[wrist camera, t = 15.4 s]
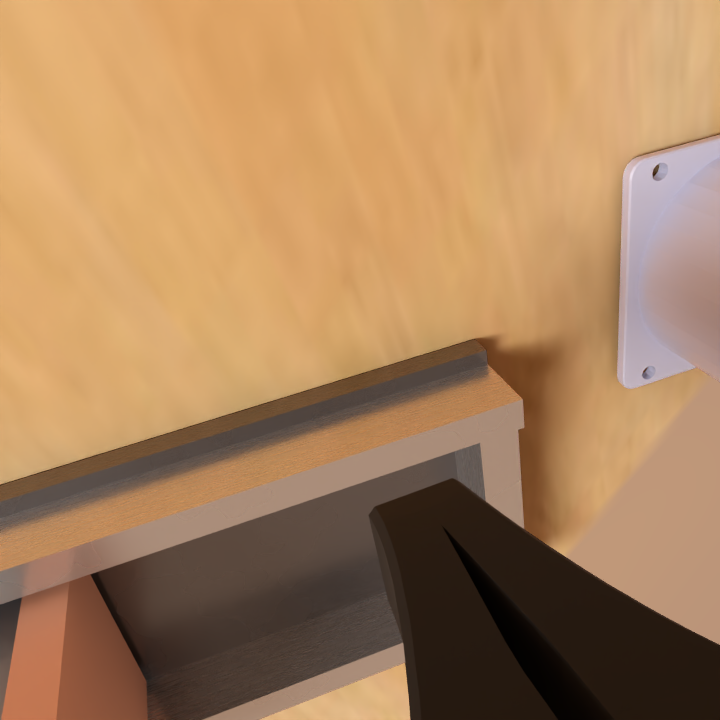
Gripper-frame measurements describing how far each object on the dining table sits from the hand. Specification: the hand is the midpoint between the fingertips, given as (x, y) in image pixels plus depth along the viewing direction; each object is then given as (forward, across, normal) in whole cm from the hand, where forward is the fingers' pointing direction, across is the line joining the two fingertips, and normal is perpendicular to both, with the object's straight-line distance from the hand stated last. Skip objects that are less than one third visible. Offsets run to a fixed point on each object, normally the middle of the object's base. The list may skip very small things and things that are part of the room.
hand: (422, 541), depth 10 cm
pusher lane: (+10, +5, +8) cm, 14 cm away
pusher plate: (+9, +8, +8) cm, 15 cm away
